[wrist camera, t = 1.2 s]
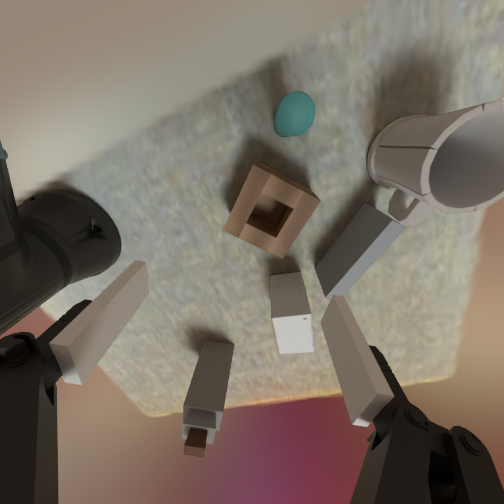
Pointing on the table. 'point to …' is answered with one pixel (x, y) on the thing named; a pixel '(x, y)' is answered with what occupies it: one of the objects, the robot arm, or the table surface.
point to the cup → (441, 161)
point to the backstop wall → (356, 250)
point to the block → (270, 210)
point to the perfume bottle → (206, 396)
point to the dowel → (294, 114)
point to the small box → (291, 314)
